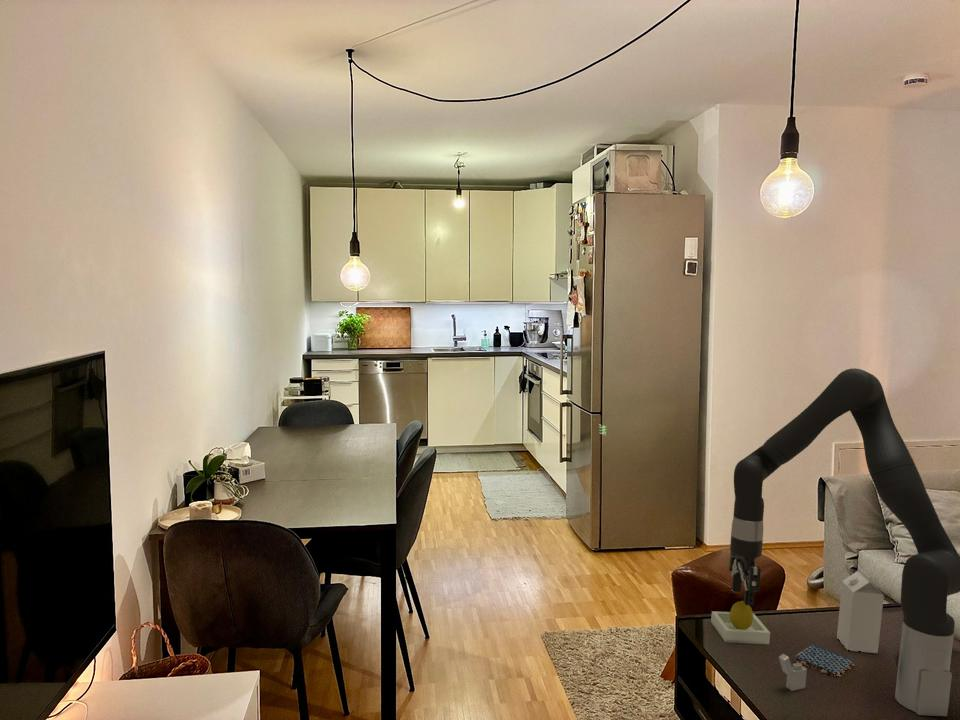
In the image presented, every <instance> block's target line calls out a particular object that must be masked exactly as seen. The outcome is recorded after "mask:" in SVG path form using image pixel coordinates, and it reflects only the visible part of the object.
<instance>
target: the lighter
mask: <svg viewBox="0 0 960 720" xmlns="http://www.w3.org/2000/svg"><path fill="white" fill-rule="evenodd" d="M778 659H779V663H780V666H781V670H782V672H783V673H785V674H786V684H785V688H786V689H788V690H790V691H791V692H793V691H797V690H802V689H806V683H807V672H808V668H807V667H806V666H804V665H802V664H800V663H797V662H795V663H791V661H790V657H789V656H788V655H786V654H785V653H782V654H780V655H779V656H778Z"/></svg>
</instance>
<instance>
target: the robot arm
mask: <svg viewBox="0 0 960 720" xmlns="http://www.w3.org/2000/svg"><path fill="white" fill-rule="evenodd" d="M848 412H850V413H851V415H852V417H853V420H854V421H855V423H856V425H857V428H858V429H859V432H860V434H861V437H862V442H863V447H864V448H863V449H864V455H865V457H864V458H865V461H866V462H865V463H866V466H867V469H868V473H869V475H870V478H871V481H872V482H873V485H874V488H875V490H876V493H877V494H878V496H879V497H880V498H879V499H881V501H882V503H884V505H885V507H887V509H888V510H889V511H891V513H892V514H893V515H894V516H895V517H896V518H897V519H898V520H899V521H900V522H901V524H902V525H903V526H904V527H905V528H906V530H907V531H908V533H909V535H910V537H911V540H912V541H913V544H914V546H915V549H916V552H917V554H913V555H911V556H910V557H908V559H906V561H905V563H904V565H903V567H902V568H903V569H902V572H901V584H900V585H901V589H900V608H901V611H902V613H903V614H902V616H903V617H902V618H903V619H902V628H901V637H900V645H899V654H898V655H899V656H898V666H897V673H896V682H895V683H896V684H895V693H894V698H895V700H896V702H898V703H899V704H900V706H901V705H902V707H904V708H905V709H907V710H909V711H912V712H914V713H915V714H917V715H918V716H931V717H933V716H934V717H935V716H936V717H948V714H949V713H948V712H949V704H950V695H951V694H950V693H951V685H952V676H953V673H952V672H951V671H950V669H951V660H952V652H953V651H952V650H953V645H954V644H953V643H954V635H955V625H956V624H955V622H956V621H955V620H954V618H953V616H951V614H949V613H947V604H948V603H947V602H948V596H951V595H955V594H958V593H960V555H959V553H958V551H957V549H956V548H955V545H954V544H953V542H952V541H951V538H950V537H949V535H948V533H947V532H946V530H945V528H944V526H943V524H942V522H941V521H940V519H939V515H938V514H937V511H936V509H935V507H934V504H933V502H932V501H931V499H930V496H929V494H928V492H927V489H926V488H925V484H924V482H923V479H922V476H921V474H920V472H919V470H918V468H917V466H916V463H915V461H914V458H913V457H912V456H911V455H912V454H911V453H910V451H909V449H908V447H907V445H906V444H905V441H904V439H903V437H902V436H901V433H900V431H898V428H897V427H896V424H895V422H894V420H893V417H892V414H891V411H890V408H889V405H888V401H887V398H886V396H885V392H884V389H883V385H882V383H881V381H880V380H879V379H878V377H876V376H875V375H874V374H872V373H870V372H868V371H866V370H864V369H861V368H855V367H854V368H848V369H847V368H846V369H845V370H843V371H841V372H840V373H839V374H837V376H835V378H833V380H832V381H831V382H830V383H829V384H828V385H827V386H826V387H825V389H824V390H822V392H821V393H820V394H819V395H818V396H817V397H816V398H815V399H814V401H812V402H811V403H810V404H809V405H808V406H807V407H806V408H805V409H804V410H803V411H801V412H800V413H799V414H798V415H797V416H796V417H794V418H793V419H791V421H789V422H788V423H787V424H786V425H784V426H782V428H780V429H779V430H778V431H776V432H775V433H774V434H772V436H770V437H769V438H768V439H767V440H765V442H764V443H763V444H762V445H761V446H759V447H758V448H757V449H756V450H753V452H751V453H750V454H748V455H747V456H745V457H744V458H743V459H741V460H739V461H738V462H737V463H736V464H735V467H734V470H733V491H734V502H733V503H734V505H733V518H732V522H731V529H730V530H731V531H730V543H729V545H730V546H729V551H730V556H729V566H728V570H729V572H731V574H730V575H731V577H732V579H731V581H732V582H731V590H732V592H734V593H741V592H742V582H743V583H744V585H743V586H744V595H743V601H744V604H745V605H749V606H754V605H755V595H756V593H755V592H760V588H761V571H762V570H761V567H760V566H757V565H756V561H755V560H756V559H758V558H760V557H761V556H762V553H763V542H764V539H763V538H764V513H765V500H764V499H763V497H762V496H763V483H764V481H765V480H766V479H767V478H769V476H771V475H772V474H773V473H774V472H775V471H777V470H778V469H779V468H780V467H781V466H782V465H785V464H787V463H788V462H790V461H791V460H793V459H794V458H795V457H797V456H798V455H799V454H800V453H802V452H803V451H804V450H805V449H806V448H808V447H809V446H810V445H811V444H812V443H813V442H814V441H815V439H816V438H817V437H819V435H820V434H821V433H822V432H823V431H824V430H825V429H826V428H827V427H828V426H829V425H830V424H832V422H834V421H835V420H836V419H837V418H839V417H841V416H843V415H844V414H846V413H848Z"/></svg>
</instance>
